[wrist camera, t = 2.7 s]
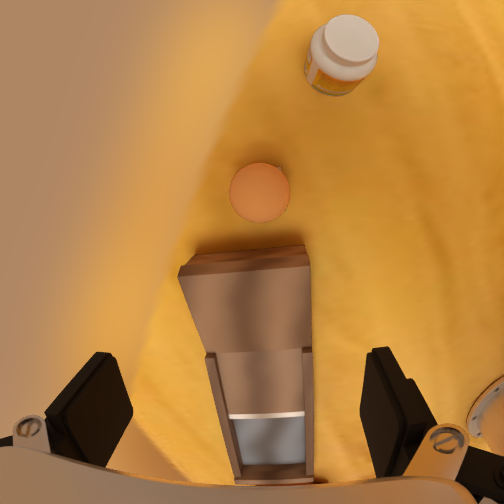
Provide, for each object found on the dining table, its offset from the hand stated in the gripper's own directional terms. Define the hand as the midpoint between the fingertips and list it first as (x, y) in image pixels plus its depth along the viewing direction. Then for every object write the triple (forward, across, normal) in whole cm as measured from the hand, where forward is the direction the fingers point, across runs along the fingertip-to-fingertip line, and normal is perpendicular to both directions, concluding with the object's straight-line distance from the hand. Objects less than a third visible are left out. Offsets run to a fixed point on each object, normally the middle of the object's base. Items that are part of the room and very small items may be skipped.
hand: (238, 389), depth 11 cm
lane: (+22, +1, +17) cm, 27 cm away
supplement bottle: (+22, -8, -17) cm, 29 cm away
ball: (+18, 0, -5) cm, 19 cm away
